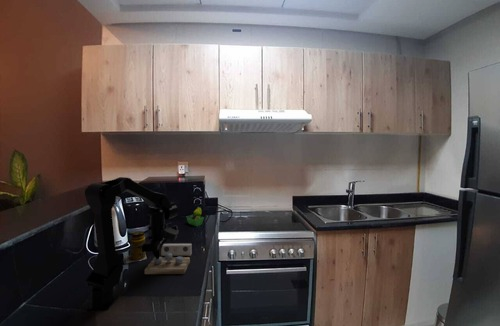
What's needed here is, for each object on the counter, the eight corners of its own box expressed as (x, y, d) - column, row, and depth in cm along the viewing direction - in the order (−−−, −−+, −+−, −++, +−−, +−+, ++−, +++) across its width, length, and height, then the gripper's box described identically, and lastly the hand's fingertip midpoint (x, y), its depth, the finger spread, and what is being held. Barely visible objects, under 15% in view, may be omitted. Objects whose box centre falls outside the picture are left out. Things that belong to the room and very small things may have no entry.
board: (184, 273, 89) (184, 269, 89) (144, 274, 89) (144, 269, 89) (189, 261, 99) (189, 257, 99) (154, 261, 99) (154, 257, 99)
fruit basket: (185, 223, 152) (185, 207, 152) (196, 220, 159) (196, 205, 158) (195, 227, 145) (195, 210, 144) (206, 224, 152) (206, 208, 151)
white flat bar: (190, 255, 105) (190, 245, 105) (161, 255, 104) (161, 245, 104) (191, 253, 107) (191, 243, 107) (162, 253, 107) (162, 243, 106)
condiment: (147, 258, 101) (146, 233, 101) (126, 263, 97) (126, 237, 96) (144, 252, 108) (144, 229, 107) (125, 257, 103) (124, 232, 102)
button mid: (170, 265, 92) (170, 256, 92) (163, 265, 92) (163, 256, 92) (173, 261, 95) (173, 252, 95) (166, 262, 95) (166, 252, 95)
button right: (181, 268, 93) (181, 259, 93) (174, 269, 93) (174, 259, 92) (183, 265, 96) (183, 256, 96) (176, 265, 96) (176, 256, 95)
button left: (160, 269, 92) (160, 259, 92) (153, 269, 92) (153, 259, 92) (162, 265, 95) (162, 256, 95) (155, 265, 95) (155, 256, 95)
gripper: (169, 230, 84) (169, 269, 85) (182, 216, 102) (182, 248, 103) (140, 230, 83) (140, 270, 84) (158, 216, 102) (158, 248, 103)
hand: (157, 258), depth 93 cm, fingers closed, pressing on button left
